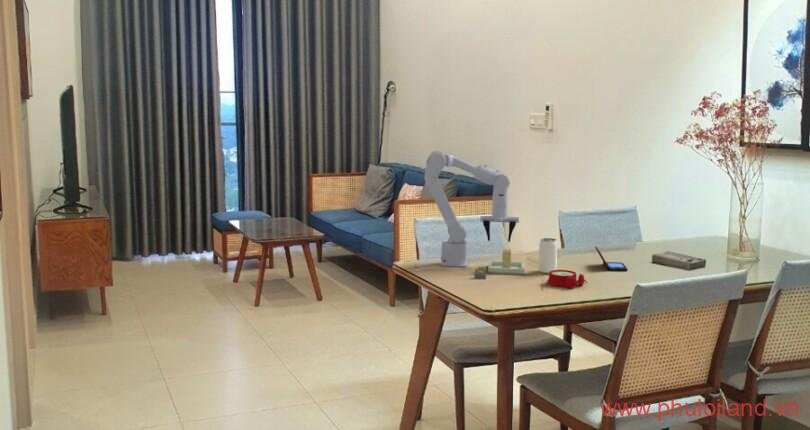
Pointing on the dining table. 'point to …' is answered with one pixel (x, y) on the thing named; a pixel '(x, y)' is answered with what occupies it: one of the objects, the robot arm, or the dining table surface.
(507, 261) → the carton
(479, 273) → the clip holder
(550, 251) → the can
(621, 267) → the handheld game console
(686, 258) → the box
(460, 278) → the dining table surface
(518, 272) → the tray
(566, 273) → the alarm clock
